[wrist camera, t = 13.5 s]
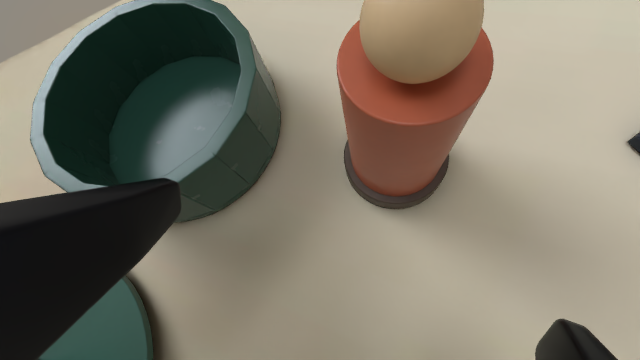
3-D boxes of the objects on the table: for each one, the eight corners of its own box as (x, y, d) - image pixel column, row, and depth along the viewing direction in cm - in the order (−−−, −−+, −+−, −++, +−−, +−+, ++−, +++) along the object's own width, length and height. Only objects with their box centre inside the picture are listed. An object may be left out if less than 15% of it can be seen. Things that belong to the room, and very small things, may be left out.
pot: (205, 261, 18) (148, 252, 14) (69, 166, 22) (-13, 134, 17) (316, 90, 21) (300, 33, 16) (178, 30, 24) (132, -30, 20)
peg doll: (417, 227, 17) (504, 114, 6) (328, 180, 19) (262, 21, 7) (461, 142, 18) (605, -90, 7) (373, 105, 20) (375, -133, 9)
